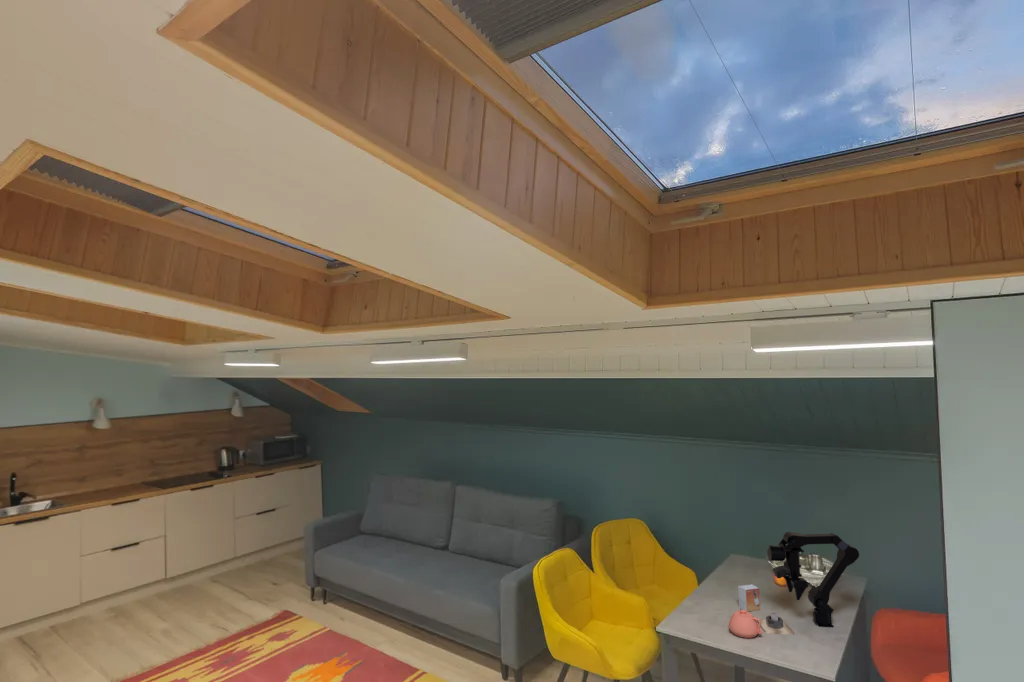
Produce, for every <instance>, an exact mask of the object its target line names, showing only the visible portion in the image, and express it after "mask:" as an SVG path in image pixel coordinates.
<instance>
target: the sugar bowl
mask: <svg viewBox="0 0 1024 682" xmlns="http://www.w3.org/2000/svg"><path fill="white" fill-rule="evenodd" d="M760 619H761V618H759V617H755V616H754V615H753V614H752V613H751V612H750V611H749V612H747V611H746V610H743V609H741V608H740V610H736V611H734V612H733V613H732V615H730V618H729V621H728V629H729V630H730V631H731V633H733V635H734V634H735V635H734V636H737V637H740V638H746V639H749V640H750V639H751V638H754V637H757V635H758V634H759V635H762V634H763V633H764V631H763V629H762V628H761V627H760V626H761V621H760ZM757 620H758V621H759V624H758V623H757Z"/></svg>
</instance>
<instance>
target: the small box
mask: <svg viewBox="0 0 1024 682" xmlns="http://www.w3.org/2000/svg"><path fill="white" fill-rule="evenodd" d="M737 587H738V590H737V591H738V608H740V610H741V609H743V610H746V611H747V612H749V613H750V612H754V611H755V612H757V611H761V607H760V606H761V602H760V601H761V599H760V588H759V586H758V587H757V586H756V585H754V584H752V583H751V584H744V585H738V586H737Z"/></svg>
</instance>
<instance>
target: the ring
mask: <svg viewBox="0 0 1024 682" xmlns="http://www.w3.org/2000/svg"><path fill="white" fill-rule="evenodd" d="M765 620H766V624H767V625H768V627H771V628H774V629H781V628H783V620H784V619H783V618H782V617H781V616H778V621H773V620H771V615H767V616H765Z"/></svg>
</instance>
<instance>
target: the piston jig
mask: <svg viewBox="0 0 1024 682" xmlns="http://www.w3.org/2000/svg"><path fill="white" fill-rule="evenodd" d="M770 616H771V620H773V621H778V617H779V614H778V613H776V612H771V613H770ZM759 619H760V621H761V626H760V629H762V630H763V633H765V634H769V635H770V634H773V635H792V636H793V635H795V632H794V630H793V629H792V628H791V627H790V626H789V625H788V623H787V622H786V621H785V620H784V619H782V620H783V628H781V629H774V628H771V627H768V625H767V624H766V619H761V618H759ZM756 622H757V624H758V625H759V621H758V620H756Z"/></svg>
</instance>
